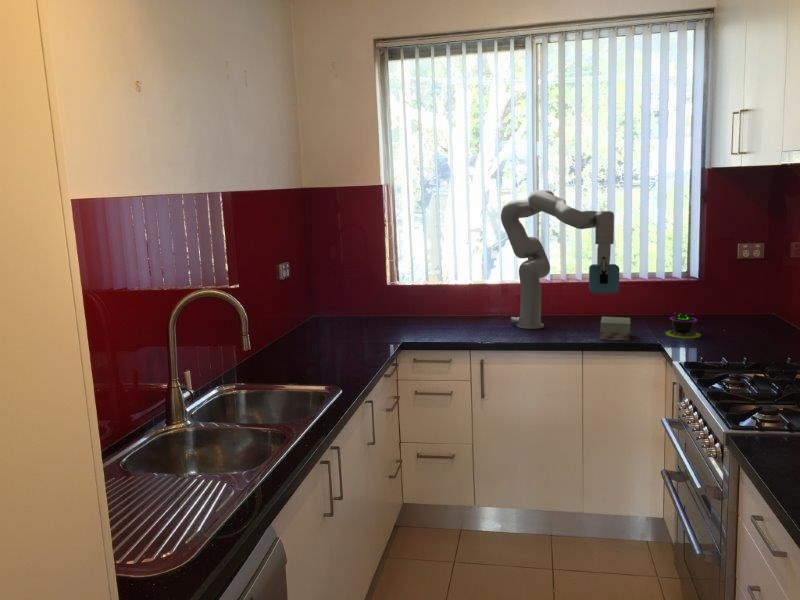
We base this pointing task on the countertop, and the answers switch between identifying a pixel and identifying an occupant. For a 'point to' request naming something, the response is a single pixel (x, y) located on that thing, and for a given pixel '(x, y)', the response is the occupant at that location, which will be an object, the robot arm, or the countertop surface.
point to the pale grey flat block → (615, 324)
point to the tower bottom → (614, 335)
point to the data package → (612, 279)
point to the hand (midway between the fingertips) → (603, 282)
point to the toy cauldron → (683, 327)
